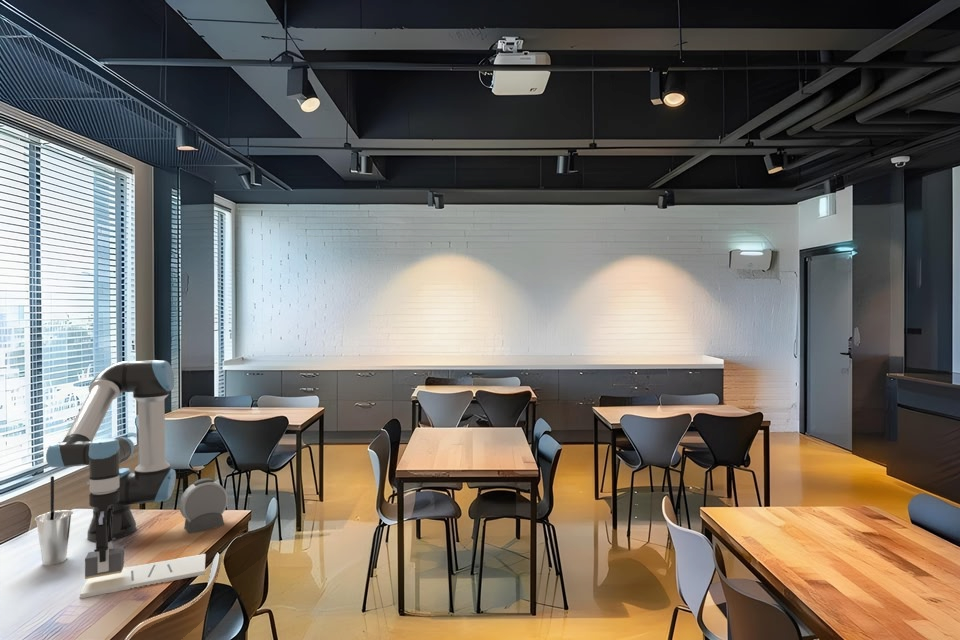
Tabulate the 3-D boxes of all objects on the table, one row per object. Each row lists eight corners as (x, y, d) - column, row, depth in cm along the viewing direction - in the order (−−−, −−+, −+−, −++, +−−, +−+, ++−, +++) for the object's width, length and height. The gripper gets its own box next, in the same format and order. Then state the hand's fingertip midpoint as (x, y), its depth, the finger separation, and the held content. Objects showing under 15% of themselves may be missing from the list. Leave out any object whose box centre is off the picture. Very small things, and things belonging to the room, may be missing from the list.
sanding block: (88, 572, 165) (88, 552, 165) (123, 566, 168) (123, 546, 168) (85, 579, 160) (84, 558, 160) (121, 572, 164) (121, 552, 164)
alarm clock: (222, 517, 219) (221, 472, 219) (230, 524, 212) (230, 477, 212) (177, 528, 208) (177, 480, 208) (184, 535, 201) (184, 486, 201)
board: (90, 577, 169) (90, 573, 169) (205, 557, 182) (205, 553, 182) (80, 598, 156) (80, 594, 156) (204, 574, 170) (204, 570, 170)
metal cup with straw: (53, 570, 174) (52, 477, 173) (24, 567, 176) (23, 475, 176) (84, 556, 184) (83, 467, 184) (56, 553, 186) (55, 466, 186)
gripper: (95, 484, 171) (96, 558, 171) (82, 501, 155) (83, 583, 154) (123, 481, 174) (124, 553, 174) (114, 497, 158) (114, 577, 158)
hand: (105, 567), depth 164 cm, fingers closed on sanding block, 5 cm apart
